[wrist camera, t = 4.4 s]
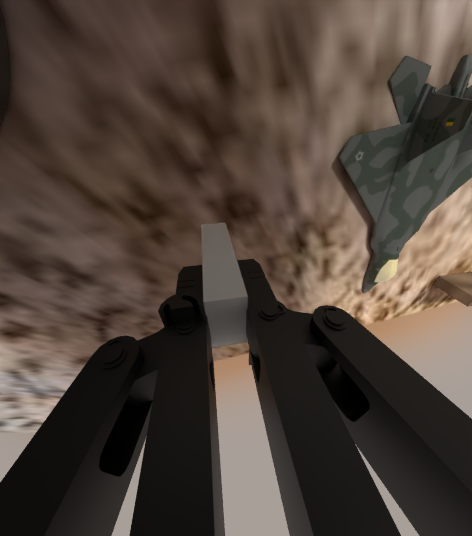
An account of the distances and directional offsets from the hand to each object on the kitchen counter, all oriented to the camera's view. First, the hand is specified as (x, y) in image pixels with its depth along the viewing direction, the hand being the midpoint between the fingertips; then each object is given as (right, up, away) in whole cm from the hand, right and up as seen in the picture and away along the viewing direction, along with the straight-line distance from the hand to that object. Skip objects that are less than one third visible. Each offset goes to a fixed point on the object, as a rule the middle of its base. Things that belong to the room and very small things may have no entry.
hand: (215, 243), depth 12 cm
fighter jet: (+14, +3, +4) cm, 15 cm away
